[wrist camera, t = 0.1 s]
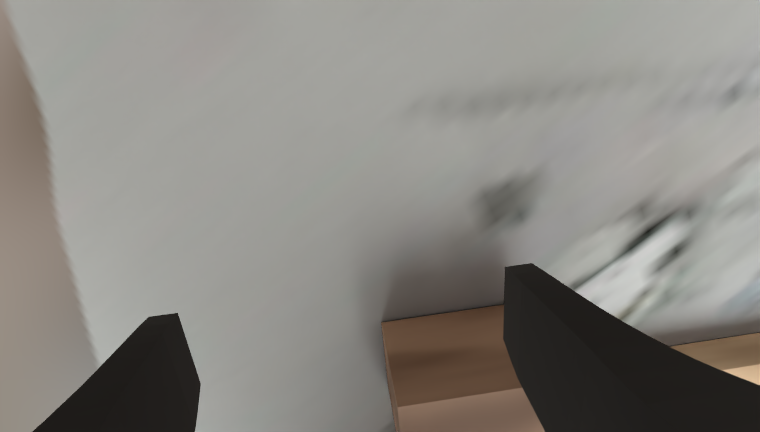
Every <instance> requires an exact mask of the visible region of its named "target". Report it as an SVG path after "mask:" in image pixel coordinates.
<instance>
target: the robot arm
mask: <svg viewBox="0 0 760 432" xmlns="http://www.w3.org/2000/svg"><path fill="white" fill-rule="evenodd" d="M503 340H504V343H505V345H506V348H507V351H508V354H509V357H510V360H511V362H512V365H513V368H514V370H515V373H516V375H517V378H518V380H519V382H520V384H521V386H522V388H523V390H524V392H525V394H526V396H527V398H528V400H529V402H530V404H531V406H532V407H533V409H534V411H535V413H536V415H537V417H538V419H539V421H540V423H541V425H542V427H543V428H544V430H545V432H760V385H758V384H755V383H753V382H750V381H747V380H745V379H742V378H740V377H737V376H735V375H732V374H730V373H727V372H725V371H722V370H720V369H717V368H715V367H712V366H710V365H708V364H705V363H703V362H701V361H699V360H696V359H694V358H692V357H690V356H688V355H686V354H684V353H682V352H679V351H677V350H675V349H673V348H671V347H669V346H667V345H665V344H663V343H661V342H659V341H657V340H655V339H653V338H651V337H649V336H647V335H646V334H644V333H642V332H640V331H638V330H637V329H635V328H633V327H631V326H630V325H628V324H626V323H624V322H622V321H621V320H619V319H617V318H616V317H614V316H612V315H611V314H609V313H607V312H606V311H604V310H603V309H601V308H599V307H598V306H596V305H595V304H593V303H591V302H590V301H588V300H587V299H585V298H584V297H582V296H581V295H579V294H578V293H576V292H575V291H573V290H572V289H570V288H569V287H567V286H566V285H564V284H563V283H561V282H560V281H558V280H557V279H555V278H554V277H552V276H551V275H549V274H548V273H546V272H545V271H543V270H542V269H540V268H538V267H537V266H535V265H534V264H532V263H530V264H523V265H516V266H509V267H505V287H504V324H503ZM199 394H200V381H199V378H198V374H197V371H196V368H195V365H194V362H193V359H192V356H191V353H190V350H189V347H188V344H187V340H186V337H185V334H184V331H183V328H182V325H181V322H180V319H179V316H178V313H174V314H167V315H160V316H153V317H148V318H147V319H146V320H145V321H144V322H143V323H142V324H141V325H140V326H139V327H138V328H137V329H136V330H135V331H134V332H133V333H132V334H131V335H130V336H129V337H128V338H127V339H126V341H125V342H124V343H123V344H122V345H121V346H120V347H119V348H118V349H117V350H116V351H115V352H114V353H113V354H112V355H111V356H110V357H109V358H108V359H107V360H106V361H105V362H104V363H103V364H102V366H101V367H100V368H99V369H98V370H97V371H96V372H95V373H94V374H93V375H92V376H91V377H90V378H89V379H88V380H87V381H86V382H85V383H84V384H83V385H82V386H81V387H80V388H79V389H78V390H77V391H76V392H75V393H73V394H72V395H71V396H70V397H69V398H68V399H67V400H66V401H65V402H64V403H63V404H62V405H61V406H60V407H59V408H58V409H57V410H55V412H53V413H52V414H51V415H50V416H49V417H48V418H47V419H46V420H45V421H44V422H43V423H42V424H41V425H39V426H38V427H37V428H36V429H35V430H34V431H33V432H195V427H196V419H197V412H198V403H199Z"/></svg>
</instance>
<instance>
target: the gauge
mask: <svg viewBox="0 0 760 432" xmlns="http://www.w3.org/2000/svg"><path fill="white" fill-rule="evenodd" d="M503 324H504V305H498V306H491V307H484V308H477V309H470V310H464V311H457V312H450V313H443V314H436V315H429V316H423V317H416V318H409V319H402V320H395V321H389V322H382V323H381V325H382V334H383V343H384V353H385V362H386V371H387V380H388V389H389V394H390V400H391V405H392V411H393V416H394V422H395V427H396V432H545V430H544V428H543V427H542V425H541V423H540V421H539V419H538V417H537V415H536V413H535V411H534V409H533V407H532V406H531V404H530V402H529V400H528V398H527V396H526V394H525V392H524V390H523V388H522V386H521V384H520V382H519V380H518V378H517V375H516V373H515V370H514V368H513V365H512V362H511V360H510V357H509V354H508V351H507V348H506V345H505V343H504V340H503Z"/></svg>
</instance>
